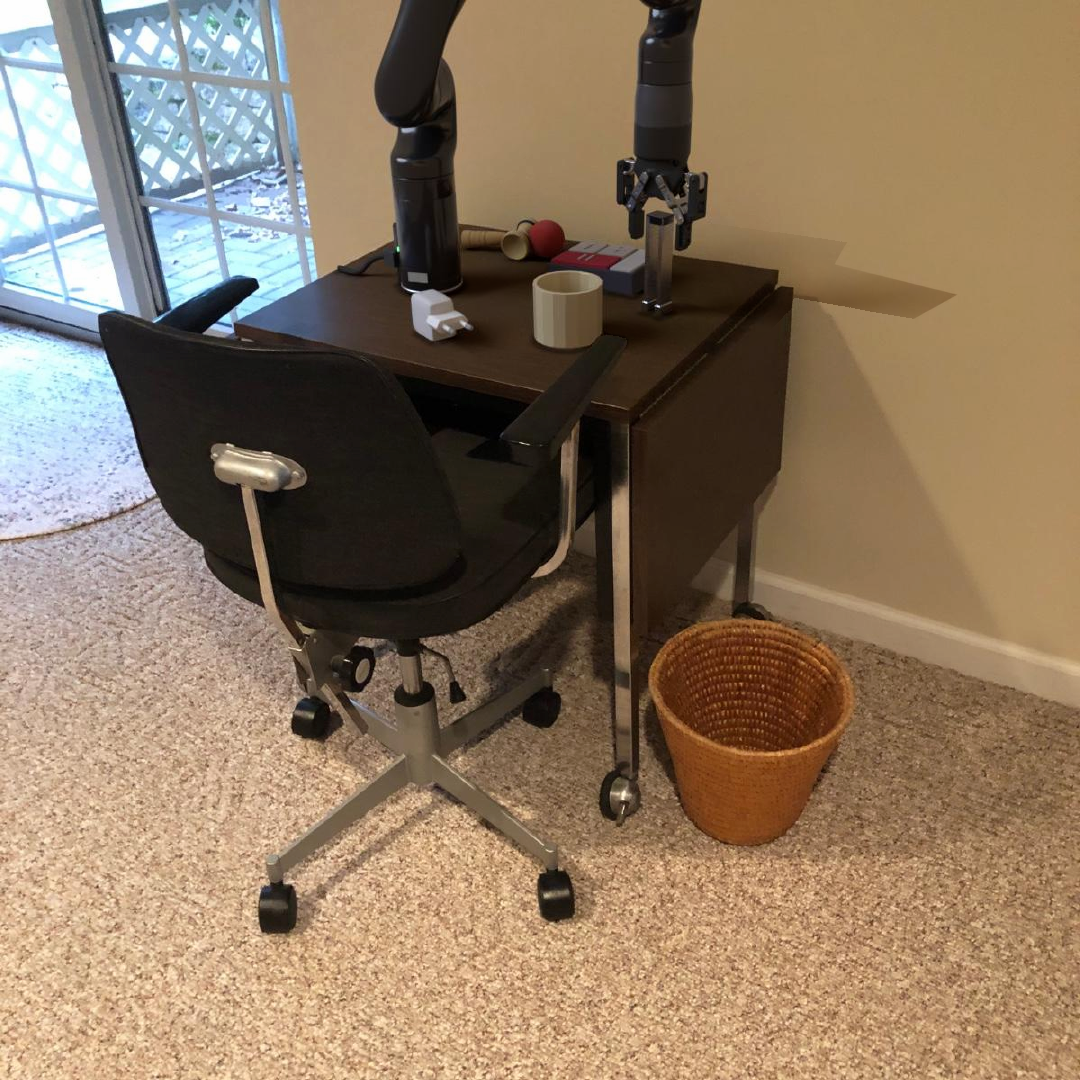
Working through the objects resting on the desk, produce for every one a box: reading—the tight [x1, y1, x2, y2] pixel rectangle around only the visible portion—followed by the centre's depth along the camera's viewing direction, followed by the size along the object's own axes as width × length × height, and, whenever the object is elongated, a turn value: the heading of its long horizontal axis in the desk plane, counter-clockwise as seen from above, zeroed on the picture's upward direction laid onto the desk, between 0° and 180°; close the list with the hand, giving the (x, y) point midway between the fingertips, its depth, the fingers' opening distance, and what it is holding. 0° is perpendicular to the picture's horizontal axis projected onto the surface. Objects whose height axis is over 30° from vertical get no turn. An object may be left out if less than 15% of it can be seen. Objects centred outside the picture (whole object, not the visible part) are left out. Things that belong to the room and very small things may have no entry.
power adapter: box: [410, 289, 474, 342], centre depth 145 cm, size 11×5×6 cm, turn 34°
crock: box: [532, 270, 604, 349], centre depth 144 cm, size 9×9×8 cm
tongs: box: [641, 209, 675, 317], centre depth 149 cm, size 3×3×14 cm
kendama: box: [460, 217, 566, 261], centre depth 176 cm, size 8×6×18 cm
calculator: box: [546, 241, 645, 296], centre depth 164 cm, size 11×4×15 cm
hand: (658, 243), depth 147 cm, fingers open, 7 cm apart
